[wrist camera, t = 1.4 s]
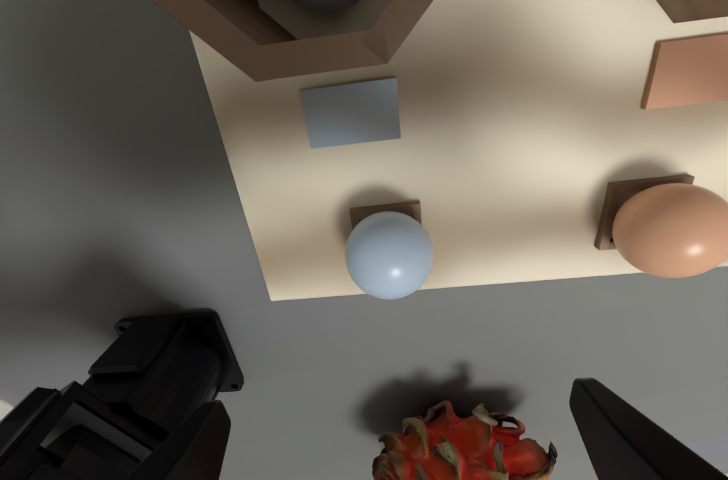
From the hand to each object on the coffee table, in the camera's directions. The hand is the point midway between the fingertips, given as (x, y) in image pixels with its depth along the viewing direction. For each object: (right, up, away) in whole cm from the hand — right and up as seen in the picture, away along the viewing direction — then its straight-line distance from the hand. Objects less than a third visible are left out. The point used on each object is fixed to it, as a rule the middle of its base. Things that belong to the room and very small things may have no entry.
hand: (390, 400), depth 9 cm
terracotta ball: (+12, +5, +8) cm, 16 cm away
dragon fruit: (+5, -9, +16) cm, 19 cm away
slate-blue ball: (+1, +4, +9) cm, 10 cm away
